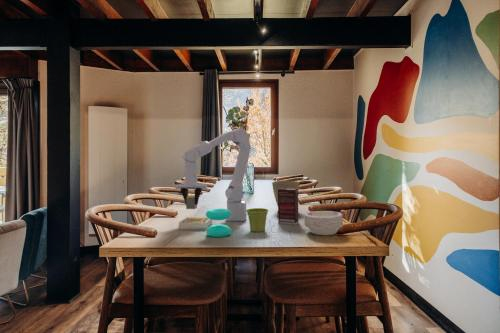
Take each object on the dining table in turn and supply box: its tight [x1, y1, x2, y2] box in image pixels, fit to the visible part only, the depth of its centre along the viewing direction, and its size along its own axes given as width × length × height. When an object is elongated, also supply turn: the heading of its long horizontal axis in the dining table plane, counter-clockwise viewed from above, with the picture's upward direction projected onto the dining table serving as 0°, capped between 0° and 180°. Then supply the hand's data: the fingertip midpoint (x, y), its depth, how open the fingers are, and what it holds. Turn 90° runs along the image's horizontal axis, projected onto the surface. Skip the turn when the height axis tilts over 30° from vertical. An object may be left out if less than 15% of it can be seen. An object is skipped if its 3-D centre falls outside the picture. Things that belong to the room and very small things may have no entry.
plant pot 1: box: [246, 207, 269, 233], centre depth 147 cm, size 9×9×9 cm
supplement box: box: [277, 188, 300, 225], centre depth 161 cm, size 9×5×16 cm, turn 65°
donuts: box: [205, 208, 232, 238], centre depth 141 cm, size 10×10×10 cm
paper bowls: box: [304, 210, 344, 236], centre depth 142 cm, size 15×15×8 cm
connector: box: [185, 194, 198, 210], centre depth 163 cm, size 4×4×6 cm
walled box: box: [178, 216, 213, 231], centre depth 156 cm, size 12×12×3 cm
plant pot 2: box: [271, 180, 300, 207], centre depth 192 cm, size 15×15×16 cm
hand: (191, 204), depth 163 cm, fingers closed on connector, 4 cm apart
